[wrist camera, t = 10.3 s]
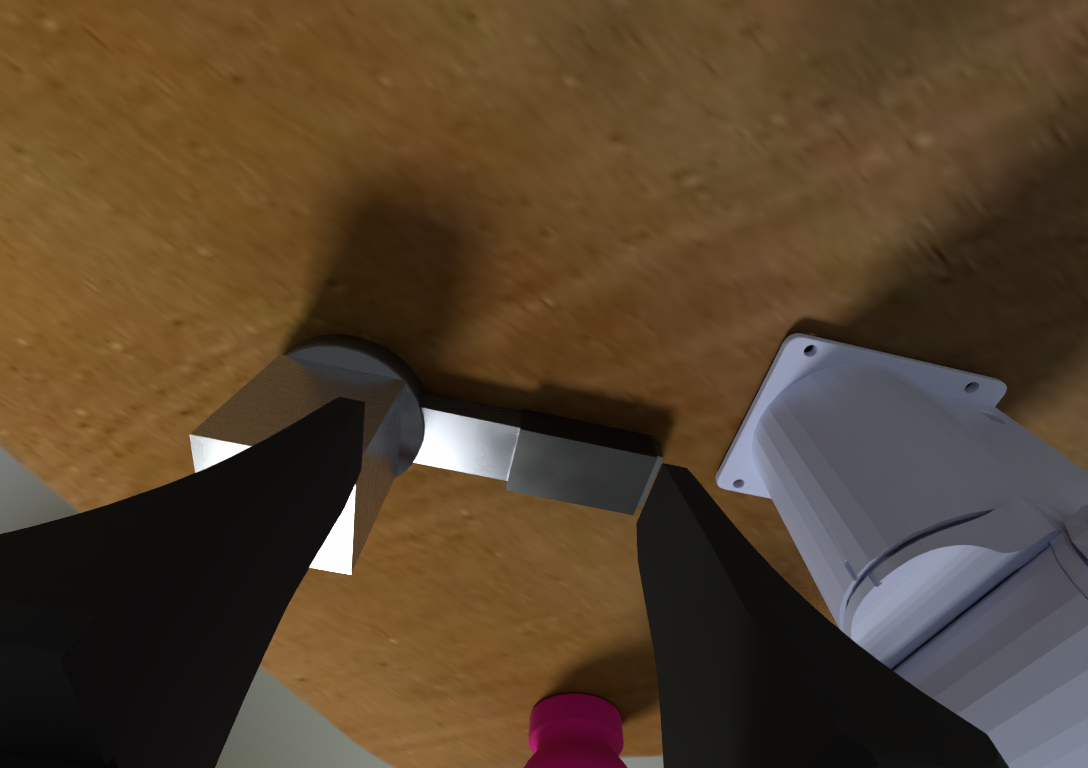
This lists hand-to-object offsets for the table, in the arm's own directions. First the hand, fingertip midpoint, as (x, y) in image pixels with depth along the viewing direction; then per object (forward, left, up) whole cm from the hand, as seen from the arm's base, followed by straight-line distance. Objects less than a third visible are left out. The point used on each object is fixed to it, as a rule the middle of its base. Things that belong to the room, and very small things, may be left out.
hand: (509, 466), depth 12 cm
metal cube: (+7, +6, -8) cm, 12 cm away
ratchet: (+2, +6, -9) cm, 11 cm away
